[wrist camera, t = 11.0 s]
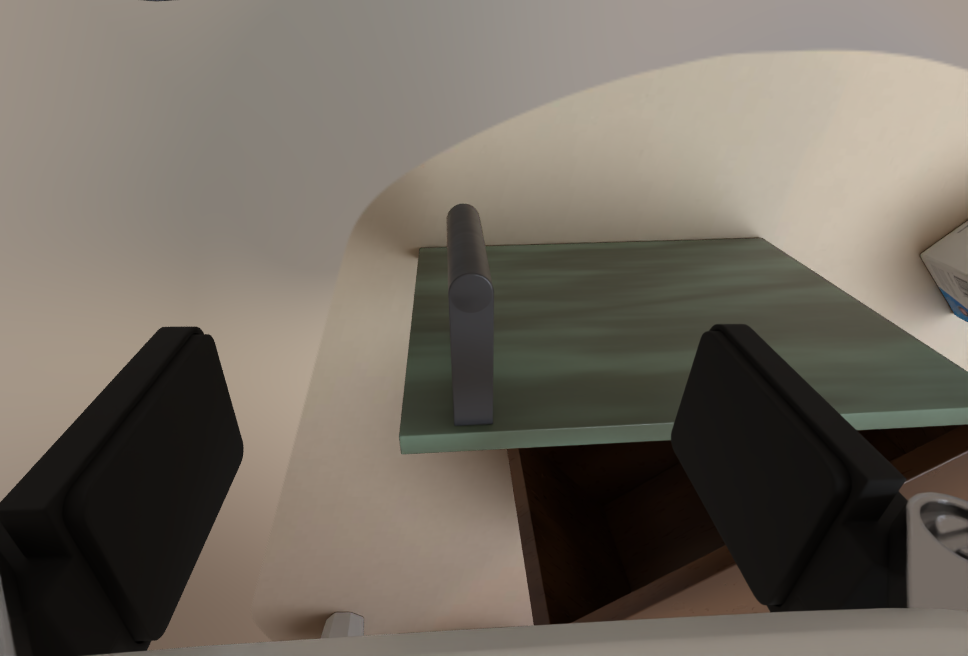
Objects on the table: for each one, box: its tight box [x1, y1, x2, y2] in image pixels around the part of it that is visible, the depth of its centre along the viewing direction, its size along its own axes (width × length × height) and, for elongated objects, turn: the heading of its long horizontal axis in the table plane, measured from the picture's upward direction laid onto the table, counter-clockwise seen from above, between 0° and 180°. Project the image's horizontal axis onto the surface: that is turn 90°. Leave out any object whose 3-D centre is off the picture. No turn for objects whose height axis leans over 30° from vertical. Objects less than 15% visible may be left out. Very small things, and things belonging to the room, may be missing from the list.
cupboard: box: [507, 424, 968, 625], centre depth 38 cm, size 16×26×20 cm, turn 130°
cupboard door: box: [399, 204, 968, 454], centre depth 28 cm, size 8×26×20 cm, turn 90°
